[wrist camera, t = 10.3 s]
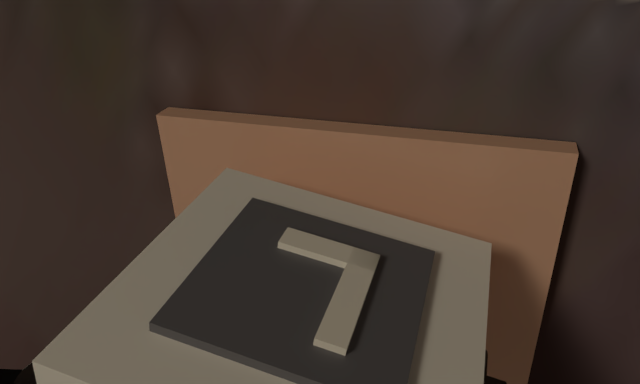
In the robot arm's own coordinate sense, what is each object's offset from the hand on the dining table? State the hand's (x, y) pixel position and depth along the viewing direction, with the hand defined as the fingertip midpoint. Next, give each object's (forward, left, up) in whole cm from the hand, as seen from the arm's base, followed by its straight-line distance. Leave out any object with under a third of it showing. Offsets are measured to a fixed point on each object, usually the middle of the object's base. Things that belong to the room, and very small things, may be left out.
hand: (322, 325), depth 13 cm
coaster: (0, -1, -3) cm, 3 cm away
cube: (0, 0, -1) cm, 1 cm away
